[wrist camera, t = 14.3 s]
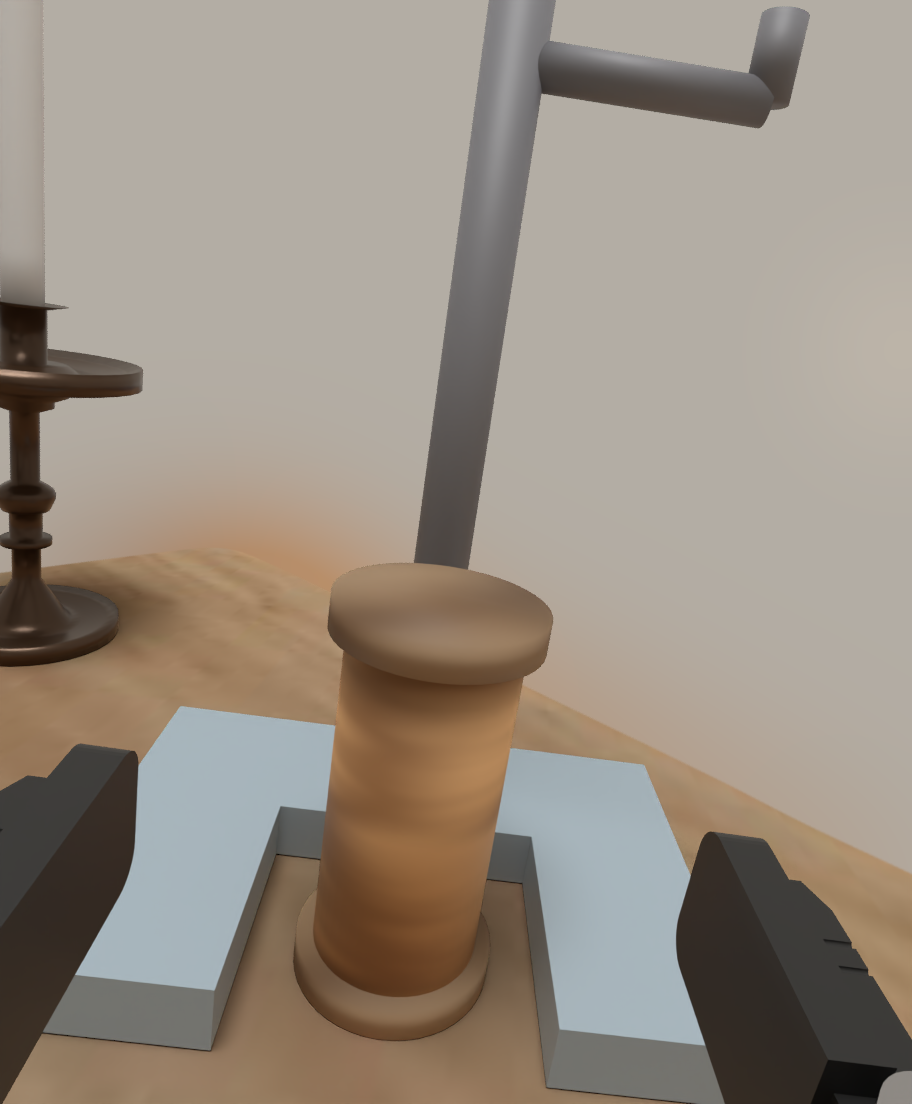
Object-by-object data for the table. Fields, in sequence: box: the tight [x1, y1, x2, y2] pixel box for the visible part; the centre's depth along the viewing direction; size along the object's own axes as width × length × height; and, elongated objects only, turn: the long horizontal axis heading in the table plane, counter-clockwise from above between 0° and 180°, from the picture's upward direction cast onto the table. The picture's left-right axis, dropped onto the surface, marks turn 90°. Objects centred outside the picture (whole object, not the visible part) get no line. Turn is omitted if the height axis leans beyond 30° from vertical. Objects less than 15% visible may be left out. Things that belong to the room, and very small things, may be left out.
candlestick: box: [0, 0, 143, 666], centre depth 38 cm, size 11×11×35 cm
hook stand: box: [43, 0, 810, 1104], centre depth 24 cm, size 20×14×30 cm
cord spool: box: [293, 563, 553, 1041], centre depth 23 cm, size 6×6×12 cm
